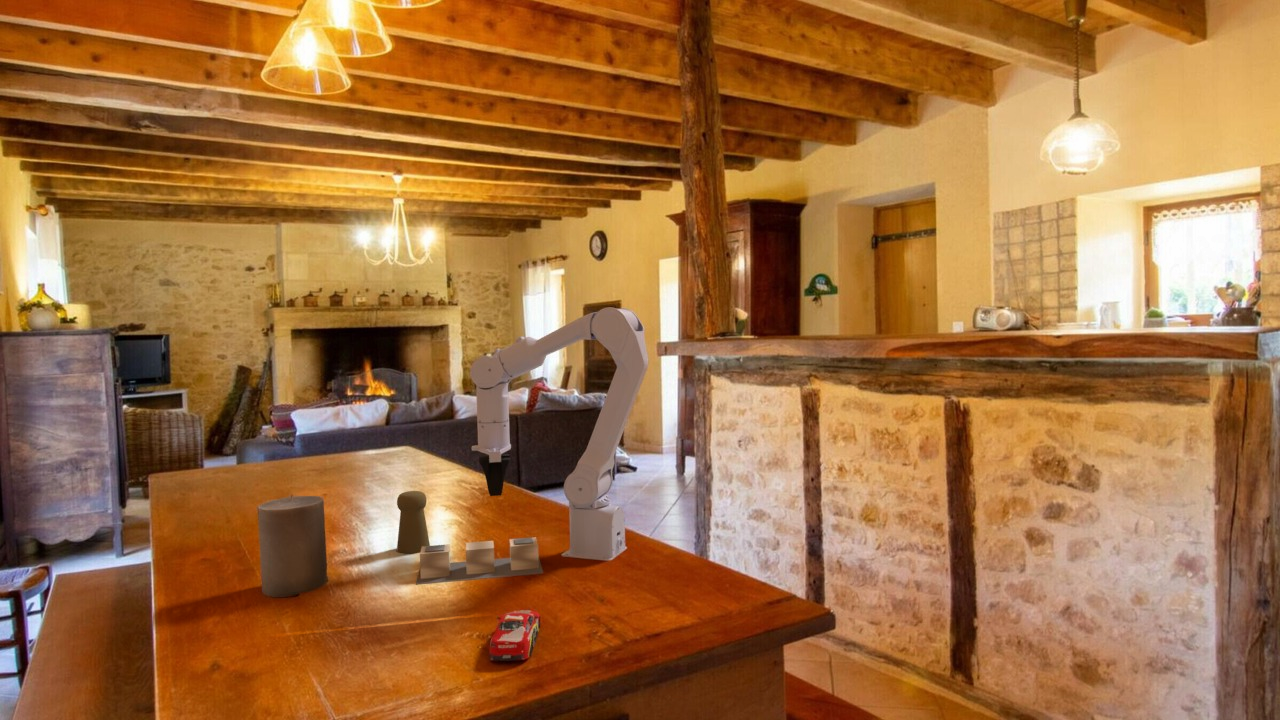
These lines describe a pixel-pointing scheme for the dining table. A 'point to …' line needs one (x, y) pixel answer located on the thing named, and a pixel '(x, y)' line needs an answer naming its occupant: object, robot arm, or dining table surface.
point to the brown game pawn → (412, 522)
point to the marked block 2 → (524, 553)
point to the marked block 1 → (435, 561)
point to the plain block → (480, 557)
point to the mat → (460, 573)
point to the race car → (515, 636)
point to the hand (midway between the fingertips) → (495, 495)
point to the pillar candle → (292, 545)
